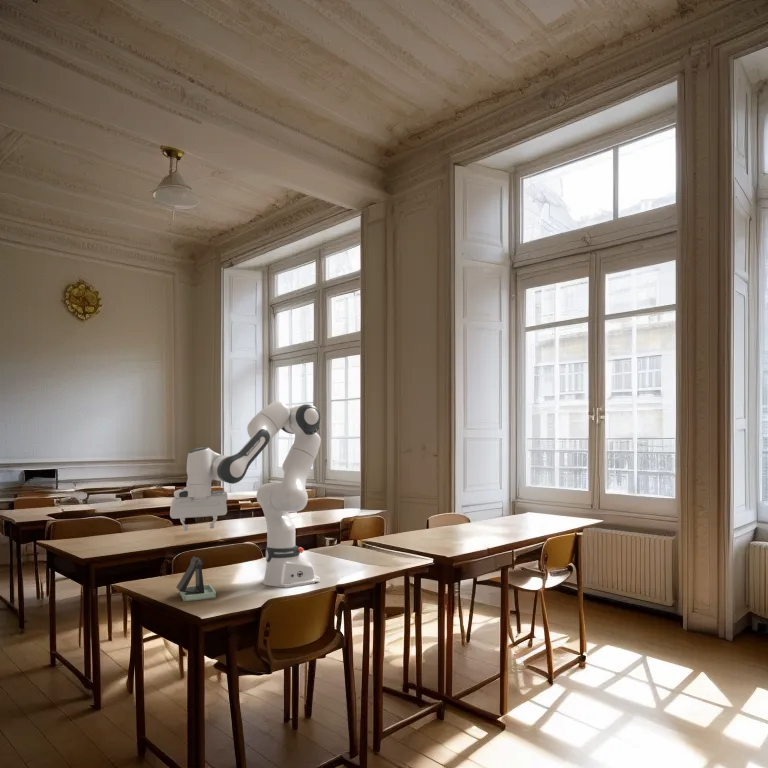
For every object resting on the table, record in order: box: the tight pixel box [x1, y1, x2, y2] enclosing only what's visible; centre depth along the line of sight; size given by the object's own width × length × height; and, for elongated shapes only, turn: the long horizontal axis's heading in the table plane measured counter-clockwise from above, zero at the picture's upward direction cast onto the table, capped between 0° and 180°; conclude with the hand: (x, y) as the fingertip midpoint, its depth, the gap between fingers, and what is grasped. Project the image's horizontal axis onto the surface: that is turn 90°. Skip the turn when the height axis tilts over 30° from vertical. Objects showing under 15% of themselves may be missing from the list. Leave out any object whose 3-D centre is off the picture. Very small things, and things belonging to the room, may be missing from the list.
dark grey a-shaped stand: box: [176, 556, 205, 594], centre depth 237 cm, size 9×6×12 cm, turn 118°
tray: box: [178, 583, 217, 603], centre depth 235 cm, size 11×13×2 cm
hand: (198, 529), depth 237 cm, fingers open, 8 cm apart
